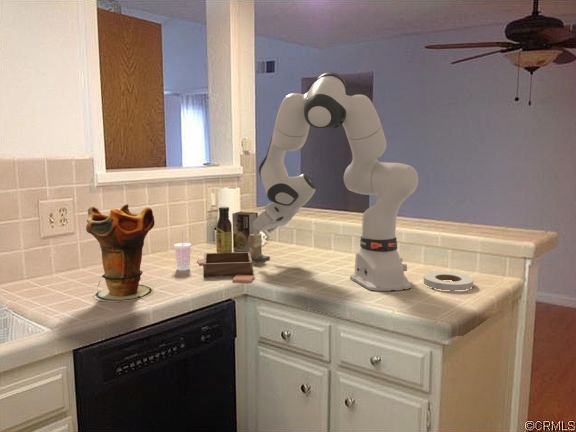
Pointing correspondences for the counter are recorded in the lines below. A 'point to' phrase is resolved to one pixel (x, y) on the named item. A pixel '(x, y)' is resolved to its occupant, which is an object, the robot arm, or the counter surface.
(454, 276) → the roll of tape
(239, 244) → the coffee box
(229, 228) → the sauce bottle
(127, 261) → the decorative vase
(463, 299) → the counter surface
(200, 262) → the tile
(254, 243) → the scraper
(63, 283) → the counter surface
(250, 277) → the tile
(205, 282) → the counter surface
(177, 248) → the beverage cup
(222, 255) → the box
